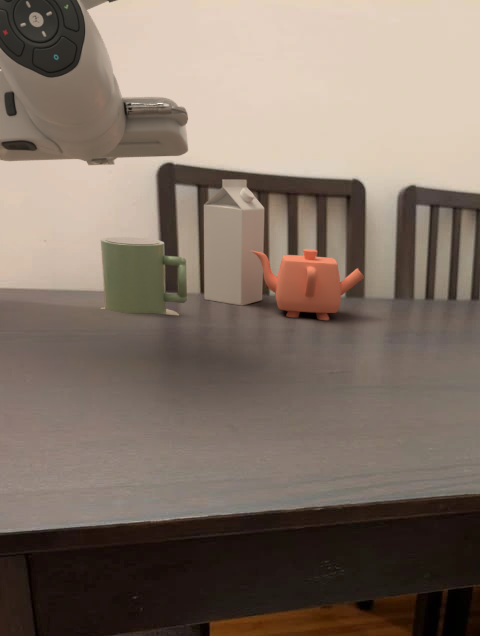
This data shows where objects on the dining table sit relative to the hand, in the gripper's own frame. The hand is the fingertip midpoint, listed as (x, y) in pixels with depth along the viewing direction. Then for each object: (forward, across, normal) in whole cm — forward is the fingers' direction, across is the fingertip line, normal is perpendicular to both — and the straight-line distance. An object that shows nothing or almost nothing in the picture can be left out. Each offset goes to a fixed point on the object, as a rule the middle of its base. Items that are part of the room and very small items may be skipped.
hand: (101, 158), depth 84 cm
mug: (+19, 0, +16) cm, 25 cm away
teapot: (+28, -25, +16) cm, 41 cm away
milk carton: (+36, -14, +12) cm, 40 cm away
